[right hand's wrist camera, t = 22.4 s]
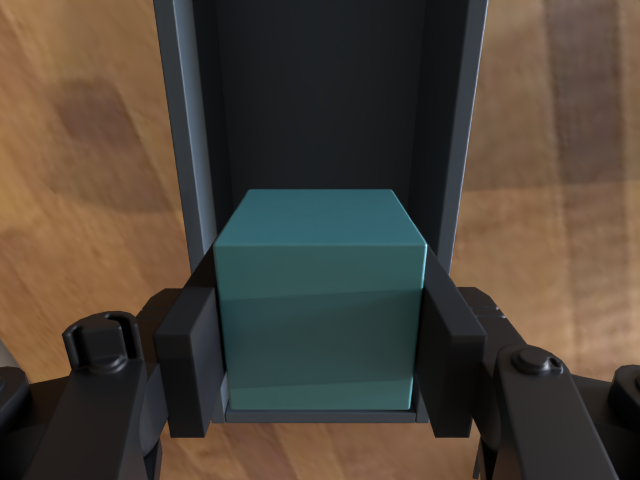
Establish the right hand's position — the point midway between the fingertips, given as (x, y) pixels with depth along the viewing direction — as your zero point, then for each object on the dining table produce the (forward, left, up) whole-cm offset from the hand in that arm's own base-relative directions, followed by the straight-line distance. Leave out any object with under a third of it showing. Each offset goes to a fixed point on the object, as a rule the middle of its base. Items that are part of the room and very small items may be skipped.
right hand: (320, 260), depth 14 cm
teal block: (0, 0, 0) cm, 0 cm away
